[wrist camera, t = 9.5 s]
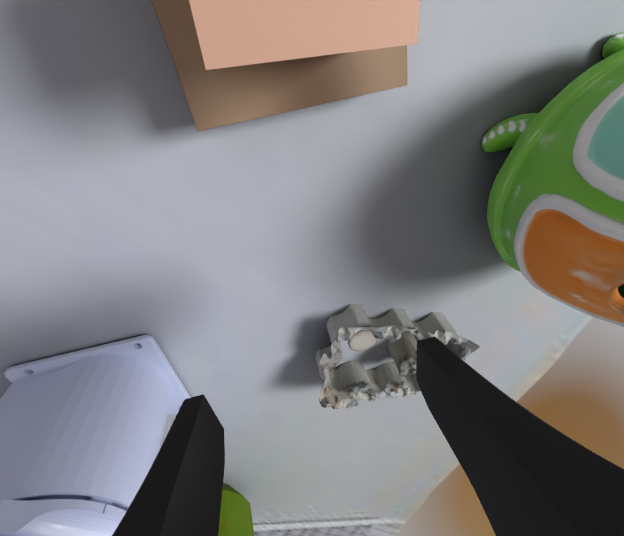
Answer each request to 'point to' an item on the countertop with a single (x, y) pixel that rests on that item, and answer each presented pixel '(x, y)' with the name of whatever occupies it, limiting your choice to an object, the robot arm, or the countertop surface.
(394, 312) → the egg carton
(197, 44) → the walnut block
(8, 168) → the countertop surface
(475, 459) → the robot arm
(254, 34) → the terracotta block
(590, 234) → the turtle holder
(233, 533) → the apple
